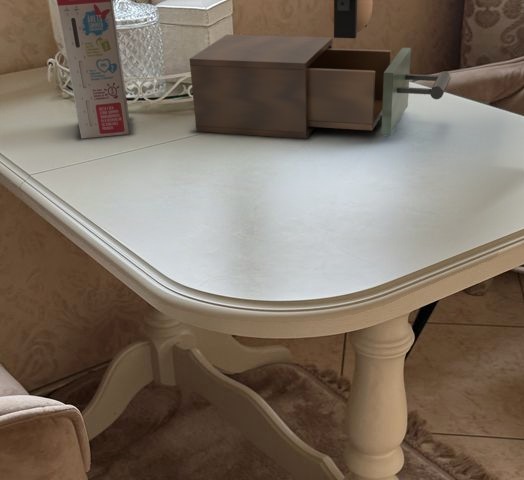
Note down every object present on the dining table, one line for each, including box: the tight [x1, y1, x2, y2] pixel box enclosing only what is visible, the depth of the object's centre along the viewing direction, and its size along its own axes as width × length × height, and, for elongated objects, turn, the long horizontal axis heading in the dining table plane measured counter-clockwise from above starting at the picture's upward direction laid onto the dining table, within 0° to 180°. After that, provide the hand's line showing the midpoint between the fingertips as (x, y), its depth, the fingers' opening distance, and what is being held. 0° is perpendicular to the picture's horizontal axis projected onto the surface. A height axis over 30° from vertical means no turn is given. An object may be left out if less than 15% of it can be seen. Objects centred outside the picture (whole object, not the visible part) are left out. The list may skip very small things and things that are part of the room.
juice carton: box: [56, 0, 131, 139], centre depth 104 cm, size 7×7×22 cm
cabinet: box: [189, 34, 333, 140], centre depth 108 cm, size 16×14×10 cm
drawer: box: [307, 47, 452, 137], centre depth 104 cm, size 20×12×8 cm, turn 71°
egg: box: [328, 0, 374, 34], centre depth 99 cm, size 5×5×7 cm
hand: (350, 31), depth 101 cm, fingers closed on egg, 5 cm apart
